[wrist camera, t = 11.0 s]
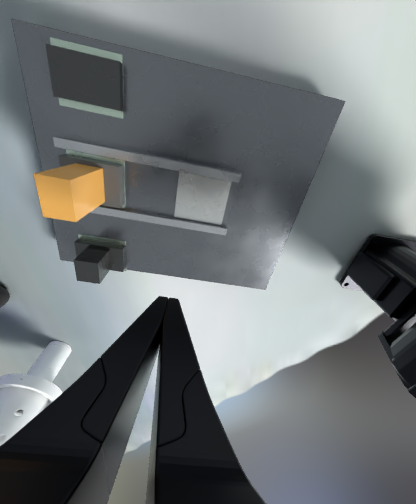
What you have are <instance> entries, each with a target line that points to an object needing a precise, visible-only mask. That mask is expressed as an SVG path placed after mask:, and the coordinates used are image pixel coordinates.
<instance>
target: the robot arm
mask: <svg viewBox="0 0 416 504" xmlns="http://www.w3.org/2000/svg"><path fill="white" fill-rule="evenodd" d="M374 239H375V240H374ZM373 240H374V241H373ZM340 285H341V286H342V287H343V288H348V289H355V290H361V291H364V292H365V293H366V294H367V295H368V296H369V297H370V298H371V299H372V300H374V301H375V302H376V304H377V305H378V306H379V307H380V308H381V309H382V310H383V311H384V312H385V313H386V314H387V315H388V316H389V317H391V318H393V319H394V320H395V322H394V323H393V324H392V325H391V326H390V327H389V328H387V329H386V330H385V331H384V332H381V333H380V334H379V335H378V337H379V339H380V341H381V343H382V345H383V347H384V349H385V351H386V353H387V354H388V357H389V358H390V360H391V362H392V364H393V366H394V368H395V370H396V372H397V374H398V376H399V378H400V379H401V381H402V382H403V384H404V386H405V387H407V389H408V391H409V393H410V394H412V395H413V396H414V397H415V398H416V241H411V240H405V239H400V238H394V237H389V236H383V235H378V234H373V235H371V236H370V237H369V238H368V239H367V241H366V242H365V244H364V245H363V247H362V248H361V250H360V252H359V253H358V255H357V256H356V258H355V259H354V261H353V262H352V264H351V266H350V267H349V269H348V270H347V272H346V273H345V275H344V276H343V278H342V280H341V281H340ZM159 346H160V347H159ZM158 351H159V355H158V366H157V377H156V389H155V400H154V411H153V423H152V434H151V446H150V457H149V468H148V481H147V491H146V503H145V504H266V503H265V501H264V500H263V499H262V497H261V496H260V495H259V493H258V492H257V491H256V489H255V488H254V487H253V486H252V484H251V482H250V481H249V479H248V478H247V476H246V475H245V473H244V471H243V469H242V467H241V465H240V463H239V461H238V459H237V457H236V455H235V453H234V450H233V448H232V446H231V444H230V442H229V440H228V437H227V435H226V433H225V431H224V428H223V426H222V424H221V421H220V419H219V417H218V415H217V412H216V410H215V408H214V405H213V403H212V400H211V398H210V396H209V393H208V390H207V387H206V384H205V381H204V378H203V375H202V372H201V370H200V366H199V363H198V360H197V356H196V353H195V350H194V347H193V344H192V341H191V337H190V334H189V331H188V328H187V325H186V321H185V318H184V315H183V312H182V309H181V306H180V302H179V300H178V299H175V298H169V299H168V297H162V296H159V297H158V298H157V299H156V300H155V301H154V302H153V303H152V304H151V305H150V306H149V307H148V308H147V309H146V310H145V311H144V312H143V313H142V314H141V315H140V316H139V317H138V318H137V319H136V320H135V321H134V323H133V324H132V325H131V326H130V327H129V328H128V329H127V330H126V331H125V332H124V333H123V334H122V335H121V336H120V337H119V338H118V339H117V340H116V341H115V342H114V343H113V344H112V345H111V346H110V347H109V348H108V349H107V350H106V351H105V352H104V353H103V355H102V356H101V358H99V359H98V360H97V361H96V362H95V363H94V364H93V365H92V366H91V367H90V368H89V369H88V370H87V371H86V372H85V373H84V374H83V375H82V376H81V377H80V378H79V379H78V380H77V381H75V382H74V383H73V384H72V385H71V386H70V387H69V388H68V389H66V390H65V391H64V392H63V393H62V394H61V395H60V396H59V397H57V398H56V399H55V400H54V401H53V402H52V403H50V404H49V405H48V406H47V407H46V408H45V409H44V410H42V411H41V412H40V413H39V414H38V415H37V416H35V417H34V418H33V419H32V420H31V421H30V422H28V423H27V424H26V425H25V426H24V427H23V428H21V429H20V430H19V431H18V432H17V433H16V434H14V435H13V436H12V437H11V438H10V439H9V440H7V441H6V442H5V443H4V444H2V445H1V446H0V504H107V502H108V500H109V495H110V493H111V491H112V487H113V485H114V482H115V479H116V476H117V473H118V469H119V467H120V464H121V461H122V458H123V455H124V452H125V449H126V446H127V443H128V440H129V437H130V434H131V431H132V428H133V425H134V422H135V419H136V416H137V413H138V410H139V408H140V405H141V402H142V399H143V396H144V393H145V390H146V387H147V384H148V381H149V378H150V375H151V372H152V369H153V366H154V363H155V360H156V357H157V354H158Z"/></svg>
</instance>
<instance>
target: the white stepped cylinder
mask: <svg viewBox="0 0 416 504" xmlns="http://www.w3.org/2000/svg"><path fill="white" fill-rule="evenodd" d="M70 353H71V348H70V346H69V345H67V344H66V343H64V342H60V341H52V342H50V343H49V344H48V345H47V347H46V348H45V350H44V351H43V352H42V354H41V355H40V356H39V358H38V359H37V360H36V362H35V363H34V364H33V366H32V367H31V368H30V370H29V371H28V373H27V374H8V375H5V376H2V377H1V378H0V446H1V445H2V444H4V443H5V442H6V441H7V440H9V439H10V438H11V437H12V436H13V435H14V434H16V433H17V432H18V431H19V430H20V429H21V428H23V427H24V426H25V425H26V424H27V423H28V422H30V421H31V420H32V419H33V418H34V417H35V416H37V415H38V414H39V413H40V412H41V411H42V410H44V409H45V408H46V407H47V406H48V405H49V404H50V403H52V402H53V401H54V400H55V399H56V398H57V397H59V396H60V395H61V394H62V391H61V390H60V389H59V388H58V387H57V386H56V385H55V384H53V383H52V382H53V380H54V378H55V377H56V375H57V374H58V372H59V370H60V369H61V367H62V365H63V364H64V362H65V360H66V359H67V357H68V356H69V354H70Z"/></svg>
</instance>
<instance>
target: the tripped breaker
mask: <svg viewBox="0 0 416 504" xmlns="http://www.w3.org/2000/svg"><path fill="white" fill-rule="evenodd" d="M58 158H59V164H60V167H59V168H54V169H50V170H46V171H42V172H38V173H34V178H35V182H36V187H37V191H38V196H39V200H40V205H41V209H42V213H43V217H47V218H54V219H60V220H66V221H72V222H77V221H78V220H80V219H81V218H83V217H84V216H85V215H87V214H88V213H90V212H91V211H93V210H94V209H96V208H97V207H98V206H100V205H104V206H110V207H116V208H121V207H122V206H123V205H124V190H123V165H119V164H114V163H109V162H103V161H98V160H93V159H88V158H83V157H77V156H72V155H67V154H63V155H58Z"/></svg>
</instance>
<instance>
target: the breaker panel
mask: <svg viewBox="0 0 416 504" xmlns="http://www.w3.org/2000/svg"><path fill="white" fill-rule="evenodd" d="M11 20H12V25H13V30H14V35H15V40H16V44H17V49H18V54H19V59H20V64H21V69H22V74H23V79H24V84H25V88H26V93H27V98H28V103H29V108H30V113H31V118H32V123H33V128H34V132H35V137H36V142H37V147H38V152H39V157H40V162H41V167H42V171H46V170H50V169H54V168H59V167H60V164H59V158H58V155H63V154H67V155H72V156H77V157H83V158H88V159H93V160H98V161H103V162H109V163H114V164H119V165H123V190H124V205H123V206H122V207H121V208H116V207H110V206H104V205H100V206H98V207H97V208H96V209H94V210H93V211H91V212H90V213H88V214H87V215H85V216H84V217H83V218H81V219H80V220H78V221H77V222H72V221H66V220H60V219H54V218H52V220H53V225H54V230H55V235H56V240H57V245H58V250H59V255H60V260H65V261H72V262H74V265H75V271H76V277H77V281H84V282H91V283H99V284H100V283H101V282H102V280H103V279H104V277H105V276H106V274H107V273H108V272H109V270H114V271H121V272H123V271H126V269H127V270H133V271H140V272H147V273H154V274H161V275H168V276H175V277H181V278H188V279H195V280H202V281H209V282H216V283H223V284H229V285H236V286H243V287H250V288H257V289H264V290H265V289H266V287H267V285H268V282H269V280H270V278H271V275H272V273H273V271H274V268H275V266H276V263H277V261H278V259H279V256H280V254H281V252H282V249H283V247H284V245H285V242H286V240H287V238H288V235H289V233H290V230H291V228H292V226H293V223H294V221H295V219H296V216H297V214H298V212H299V209H300V207H301V205H302V202H303V200H304V197H305V195H306V193H307V190H308V188H309V186H310V183H311V181H312V179H313V176H314V174H315V172H316V169H317V167H318V165H319V162H320V160H321V157H322V155H323V153H324V150H325V148H326V146H327V143H328V141H329V139H330V136H331V134H332V132H333V129H334V127H335V124H336V122H337V120H338V117H339V115H340V113H341V110H342V108H343V106H344V103H345V101H343V100H339V99H335V98H331V97H327V96H323V95H319V94H315V93H310V92H306V91H302V90H298V89H294V88H290V87H286V86H282V85H278V84H274V83H270V82H266V81H262V80H258V79H254V78H250V77H246V76H242V75H238V74H234V73H230V72H226V71H221V70H217V69H213V68H209V67H205V66H201V65H197V64H193V63H189V62H185V61H181V60H177V59H173V58H169V57H165V56H161V55H157V54H153V53H149V52H145V51H141V50H137V49H132V48H128V47H124V46H120V45H116V44H112V43H108V42H104V41H100V40H96V39H92V38H88V37H84V36H80V35H76V34H72V33H68V32H64V31H60V30H56V29H52V28H48V27H43V26H39V25H35V24H31V23H27V22H23V21H19V20H15V19H11Z"/></svg>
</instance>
